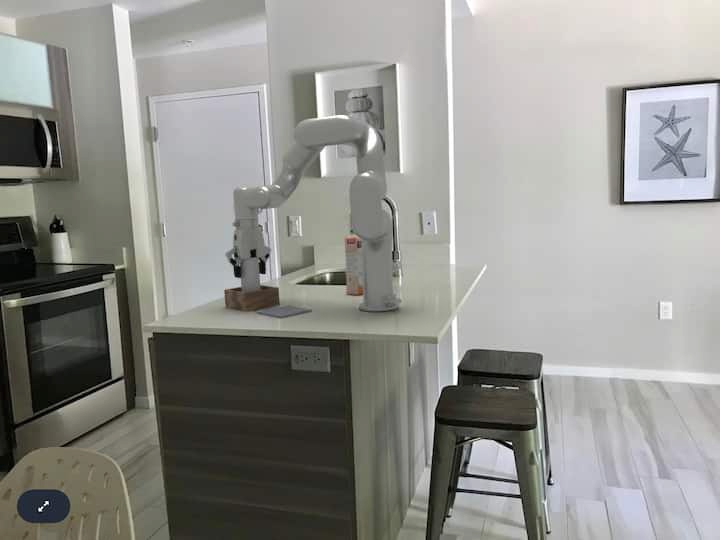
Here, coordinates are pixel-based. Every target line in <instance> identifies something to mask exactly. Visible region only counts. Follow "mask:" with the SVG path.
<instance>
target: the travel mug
mask: <svg viewBox="0 0 720 540" xmlns="http://www.w3.org/2000/svg"><path fill="white" fill-rule="evenodd" d="M256 254H257V253H256V249H253V250H250V255H251V256H250V259H247V260H242V261H241V263H240V264H239V266H241V276H242V277H241V278H240V285H241V286H240V287H241V289H242V292H246V293H247V292H253V291H259V290H261V289H260V285H261V277H260V275H261V274H260V273H259V262H260V261H259V259H258V258H257V255H256Z"/></svg>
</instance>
